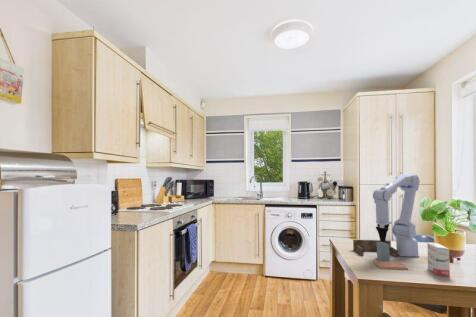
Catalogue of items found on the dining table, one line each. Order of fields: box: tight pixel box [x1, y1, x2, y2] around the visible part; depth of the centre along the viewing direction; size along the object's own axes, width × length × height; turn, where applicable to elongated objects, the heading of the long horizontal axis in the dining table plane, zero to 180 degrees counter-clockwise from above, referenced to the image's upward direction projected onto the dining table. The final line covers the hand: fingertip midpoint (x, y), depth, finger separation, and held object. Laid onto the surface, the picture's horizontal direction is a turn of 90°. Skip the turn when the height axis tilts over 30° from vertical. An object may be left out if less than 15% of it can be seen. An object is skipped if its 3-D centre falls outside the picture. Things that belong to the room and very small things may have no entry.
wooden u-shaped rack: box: [352, 239, 398, 258], centre depth 141 cm, size 20×10×6 cm, turn 83°
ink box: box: [426, 242, 451, 277], centre depth 115 cm, size 9×5×12 cm, turn 168°
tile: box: [372, 260, 409, 271], centre depth 122 cm, size 12×8×1 cm, turn 83°
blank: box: [376, 242, 391, 261], centre depth 131 cm, size 4×5×8 cm
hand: (383, 239), depth 131 cm, fingers open, 7 cm apart
